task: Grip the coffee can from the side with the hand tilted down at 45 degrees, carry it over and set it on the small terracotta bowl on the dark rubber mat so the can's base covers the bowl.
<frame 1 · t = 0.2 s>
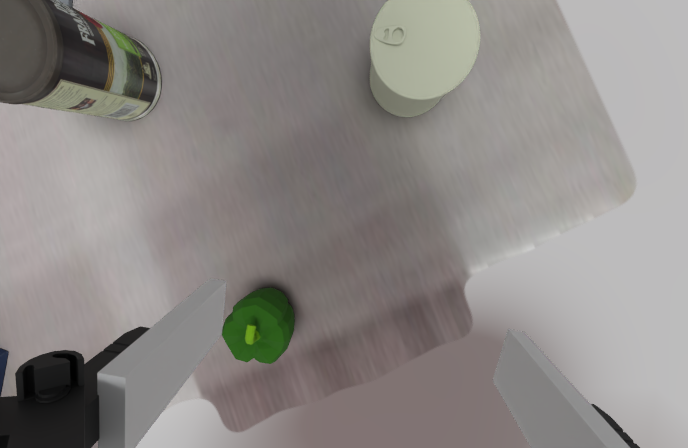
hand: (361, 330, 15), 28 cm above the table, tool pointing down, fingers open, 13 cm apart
coffee can: (124, 79, 41), on the table
bell pepper: (273, 307, 46), on the table
can: (408, 76, 39), on the table
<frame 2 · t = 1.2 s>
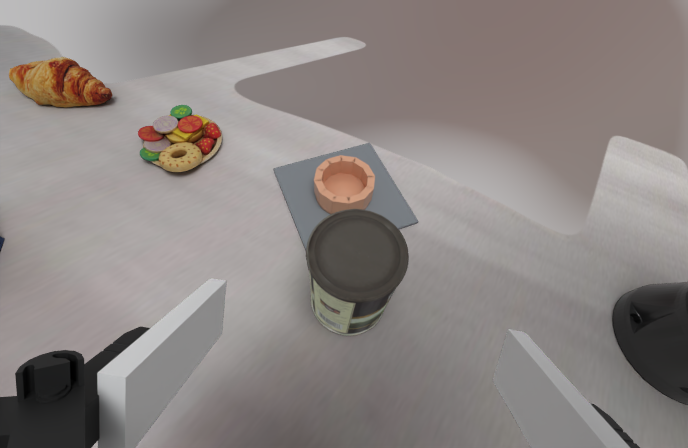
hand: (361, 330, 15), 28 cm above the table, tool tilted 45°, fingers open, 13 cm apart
coffee can: (347, 297, 45), on the table
mat: (343, 195, 53), on the table
toy food set: (184, 146, 58), on the table
croissant: (68, 94, 63), on the table
bowl: (343, 193, 53), resting on mat
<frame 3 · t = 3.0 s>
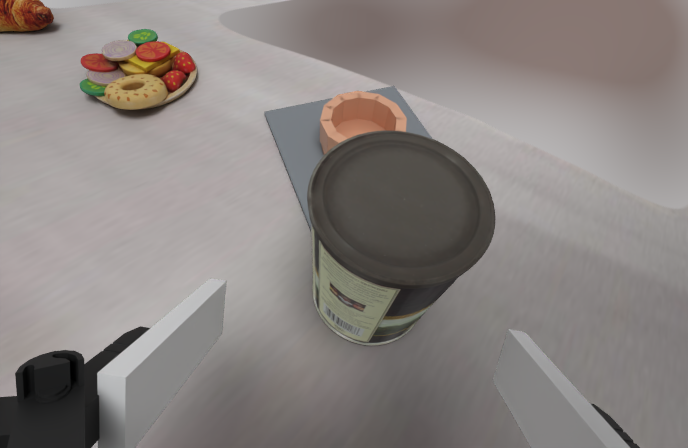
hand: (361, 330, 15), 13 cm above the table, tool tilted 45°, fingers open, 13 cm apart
coffee can: (367, 287, 30), on the table
mat: (359, 149, 39), on the table
toy food set: (146, 83, 43), on the table
croissant: (0, 19, 48), on the table
bowl: (359, 146, 38), resting on mat
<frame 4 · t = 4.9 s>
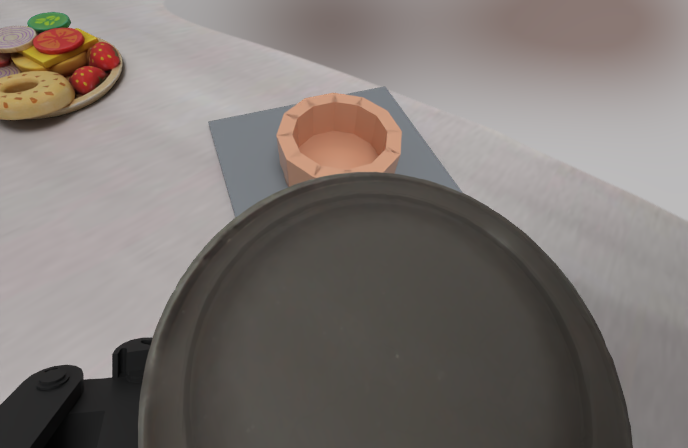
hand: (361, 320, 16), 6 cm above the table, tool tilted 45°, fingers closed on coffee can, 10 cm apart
coffee can: (343, 397, 19), on the table, touching gripper
mat: (337, 173, 28), on the table
toy food set: (53, 84, 32), on the table
bowl: (337, 169, 28), resting on mat
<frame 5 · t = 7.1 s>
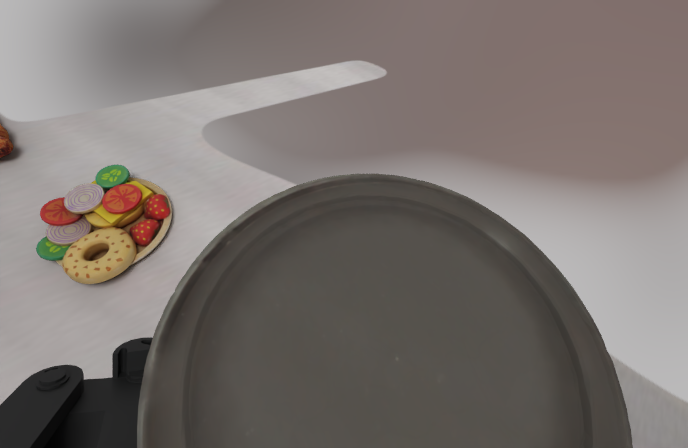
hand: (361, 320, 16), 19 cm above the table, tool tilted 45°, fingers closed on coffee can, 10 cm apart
coffee can: (343, 398, 19), point 13 cm above the table, touching gripper
toy food set: (115, 228, 39), on the table
when the fingers open (11 cm above the table, at t = 9.6 s): coffee can stays where it is, resting on bowl.
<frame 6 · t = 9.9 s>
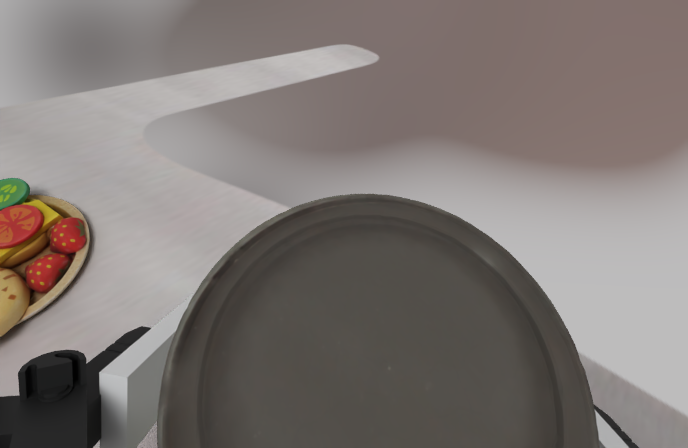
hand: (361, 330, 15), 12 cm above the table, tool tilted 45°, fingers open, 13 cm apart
coffee can: (341, 400, 20), point 4 cm above the table, touching bowl
toy food set: (9, 267, 28), on the table
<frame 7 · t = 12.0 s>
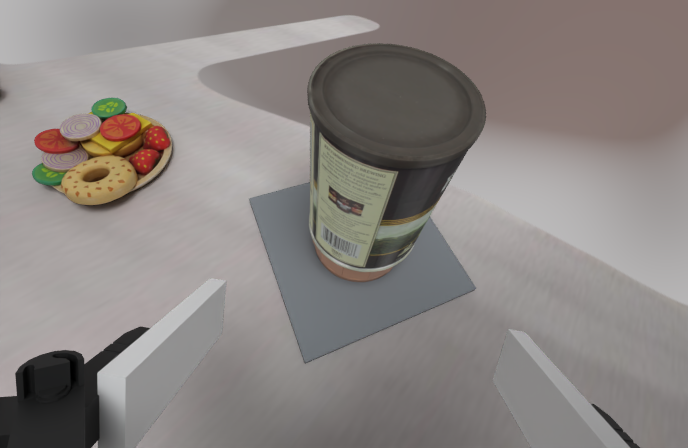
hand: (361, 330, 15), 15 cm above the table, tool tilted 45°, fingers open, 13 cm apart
coffee can: (362, 223, 31), point 4 cm above the table, touching bowl
mat: (357, 243, 34), on the table
toy food set: (113, 161, 38), on the table
bowl: (357, 241, 34), resting on mat
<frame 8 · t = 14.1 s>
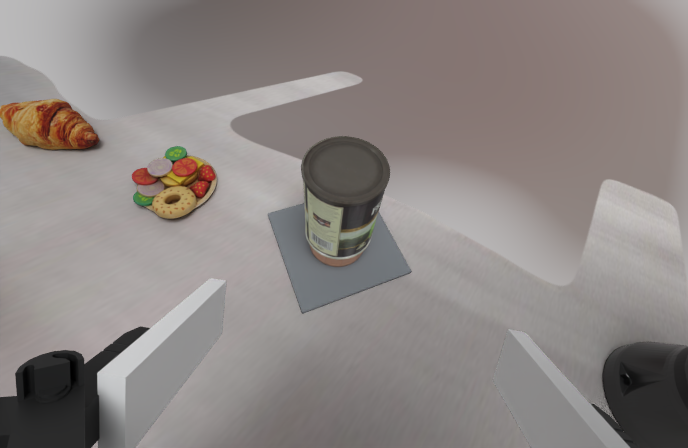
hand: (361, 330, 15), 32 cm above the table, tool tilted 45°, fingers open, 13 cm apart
coffee can: (338, 230, 50), point 4 cm above the table, touching bowl
mat: (337, 243, 53), on the table
toy food set: (178, 188, 57), on the table
croissant: (57, 133, 62), on the table
bowl: (337, 241, 53), resting on mat
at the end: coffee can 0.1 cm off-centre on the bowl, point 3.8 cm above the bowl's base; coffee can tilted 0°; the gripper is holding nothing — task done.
